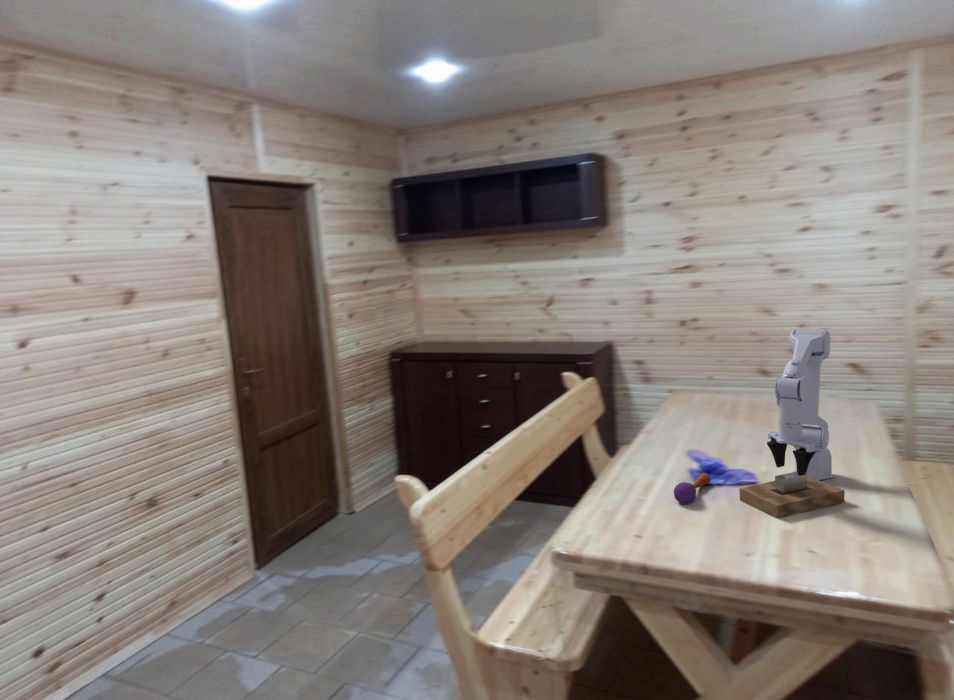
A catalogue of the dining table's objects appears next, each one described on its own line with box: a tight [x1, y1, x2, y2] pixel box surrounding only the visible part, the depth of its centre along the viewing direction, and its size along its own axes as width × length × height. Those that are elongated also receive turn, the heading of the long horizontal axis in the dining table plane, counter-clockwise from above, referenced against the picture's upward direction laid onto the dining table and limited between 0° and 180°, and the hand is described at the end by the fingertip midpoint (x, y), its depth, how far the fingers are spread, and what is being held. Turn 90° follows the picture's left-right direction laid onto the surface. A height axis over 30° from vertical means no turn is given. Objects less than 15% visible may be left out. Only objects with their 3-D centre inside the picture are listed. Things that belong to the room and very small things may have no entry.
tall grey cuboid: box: [774, 471, 807, 495], centre depth 172 cm, size 8×3×7 cm, turn 107°
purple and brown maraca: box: [673, 472, 712, 505], centre depth 183 cm, size 6×6×20 cm
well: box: [739, 476, 846, 520], centre depth 173 cm, size 22×14×4 cm, turn 107°
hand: (790, 470), depth 172 cm, fingers open, 7 cm apart
